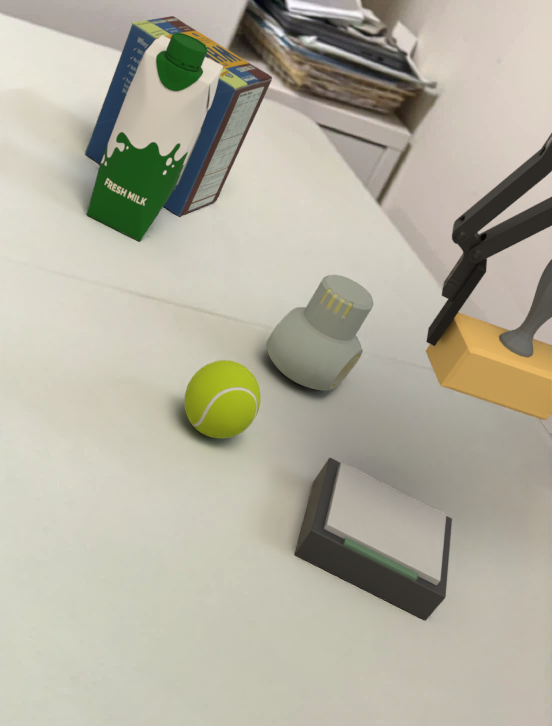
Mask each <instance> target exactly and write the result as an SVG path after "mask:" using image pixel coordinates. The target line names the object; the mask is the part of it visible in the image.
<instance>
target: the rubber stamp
mask: <svg viewBox="0 0 552 726" xmlns="http://www.w3.org/2000/svg"><path fill="white" fill-rule="evenodd" d="M535 289H536V290H535V293H534V296H533V299H532V303H531V306H530V309H529V310H528V313H527V316H526V317H525V319H524V321H523V322H522V323H521V325H520V326H518V327H517V328H515V329H511V330H509V329H508V328H504V327H502V326H498V325H496V324H493V323H490V322H487V321H484V320H481V319H478V318H476V317H473V316H470V315H467V314H464V313H462V312H460V311H459V312H458V313H457V315H456V316H455V318H454V319H453V321H452V322H451V323H450V325H449V326H448V328H447V329H446V331H445V332H444V334H443V335H442V336H441V338H440V339H439V341H438V342H437V344H436V345H435V346H433V345H431V344H428V346H427V347H426V349H425V353H426V355H427V358H428V360H429V363H430V365H431V367H432V370H433V373H434V375H435V377H436V379H437V382H438V384H439V387H443V388H445V389H448V390H452V391H455V392H457V393H460V394H462V395H463V394H464V395H467V396H470V397H473V398H476V399H479V400H481V401H484V402H488V403H490V404H493V405H495V406H496V405H497V406H499V407H503V408H506V409H509V410H511V411H514V412H518V413H520V414H523V415H525V416H529V417H532V418H535V419H539V420H543V421H548V419H549V418H550V417H551V416H552V344H549V343H547V342H543V341H541V340H539V339H536V338H534V337H535V334H536V333H537V332H538V331H539V329H540V328H541V327H542V326H543V325H544V324H546V323H547V321H549V320H550V319H551V318H552V258H551V259H550V260H549V262H548V263H547V265H546V266H545V268H544V270H543V271H542V273H541V276H540V278H539V281H538V283H537V286H536V288H535Z"/></svg>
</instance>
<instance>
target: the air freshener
mask: <svg viewBox="0 0 552 726" xmlns="http://www.w3.org/2000/svg"><path fill="white" fill-rule="evenodd" d="M374 305H375V304H374V300H373V296H372V295H371V293H370V292H369V291H368V289H366V288H365V287H364V286H363V285H361V283H359V282H356V281H355V280H353V279H351V278H349V277H346V276H344V275H341V274H328V275H326V276H324V277H323V278H322V279H321V281H320V282H319V285H318V286H317V288H316V290H315V291H314V293H313V294H312V296H311V298H310V300H309V301H308V303H307V304H306V306H297V307H295V308H293V309H291V310H289V312H288V313H287V314H286V315H284V316H283V318H281V320H280V321H279V322H278V323H277V325H276V326H275V327H274V329H273V330H272V332H271V333H270V335H269V336H268V338H267V340H266V343H265V346H266V347H265V348H266V351H267V353H268V356H269V358H270V360H271V361H272V363H273V364H274V366H275V367H276V368H277V369H278V370H279V371H280V372H281V373H282V375H284V376H285V377H286V378H287V379H289V380H290V381H292V382H294V383H296V384H298V385H300V386H302V387H305V388H307V389H312V390H317V391H332V390H334V389H335V388H337V387H338V386H339V385H340V384H341V383H342V382H343V381H344V379H345V378H347V376H348V375H349V374H350V372H351V371H352V370H353V368H355V366H356V365H357V363H358V362H359V360H360V359H361V357H362V355H363V352H364V351H363V347H362V345H361V341H360V340H359V338H358V336H357V333H358V332H359V330H360V329H361V327H362V325H363V324H364V323H365V321H366V319H367V317H368V316H369V314H370V312H371V310H373V307H374Z"/></svg>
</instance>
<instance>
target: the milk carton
mask: <svg viewBox="0 0 552 726" xmlns="http://www.w3.org/2000/svg"><path fill="white" fill-rule="evenodd" d="M207 51H208V49H207V47H206V46H205V45H204V44H203V43H202V42H200V41H199V40H197V39H195V38H193V37H191V36H189V35H186V34H183V33H173V35H172V37H171V39H169V38H167V37H165V36H163V35H162V36H160V38H159V39H156V40H155V41H154V42H153V43H152V45H151V46H150V47H149V48H148V49H147V50H146V51H145V53H144V55H143V57H142V58H141V61H140V63H139V66H138V69H137V72H136V74H135V76H134V78H133V80H132V83H131V85H130V87H129V90H128V92H127V95H126V97H125V100H124V102H123V105H122V108H121V110H120V113H119V116H118V118H117V121H116V124H115V126H114V129H113V132H112V134H111V137H110V139H109V142H108V145H107V147H106V150H105V153H104V156H103V158H102V161H101V164H99V167H98V169H97V170H98V171H97V174H96V177H95V181H94V184H93V189H92V192H91V196H90V200H89V204H88V208H87V212H86V216H88V217H90V218H93V219H94V220H96V221H98V222H100V223H102V224H103V225H106V226H108V227H110V228H113V229H114V230H116V231H119V232H120V233H122V234H124V235H126V236H128V237H130V238H132V239H134V240H135V241H138V242H141V241H142V239H143V238H144V236H145V235H146V233H147V232H148V230H149V229H150V227H151V226H152V224H153V223H154V221H155V220H156V218H157V217H158V215H159V214H160V213H161V211H162V209H163V208H164V204H165V203H166V201H167V200H168V198H169V197H170V195H171V194H172V192H173V190H174V188H175V186H176V184H177V182H178V180H179V177H180V175H181V173H182V170H183V168H184V166H185V163H186V161H187V159H188V157H189V154H190V152H191V150H192V147H193V145H194V143H195V141H196V138H197V136H198V134H199V131H200V129H201V127H202V124H203V122H204V119H205V117H206V114H207V111H208V110H209V109H210V107H211V105H212V102H213V99H214V95H215V92H216V88H217V84H218V79H219V77H220V74H221V71H222V69H223V66H222V65H220V64H218V63H216V62H215V61H213V60H211V59H209V58H207V57H205V56H206V54H207Z"/></svg>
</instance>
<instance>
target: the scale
mask: <svg viewBox="0 0 552 726" xmlns="http://www.w3.org/2000/svg"><path fill="white" fill-rule="evenodd" d="M311 486H312V487H311V489H310V494H309V498H308V502H307V506H306V510H305V513H304V518H303V521H302V525H301V528H300V532H299V536H298V540H297V544H296V547H295V553H294V555H295V556H296V557H298V558H300V559H301V560H304V561H306V562H308V563H310V564H312V565H314V566H316V567H318V568H320V569H322V570H324V571H325V572H328V573H330V574H332V575H334V576H336V577H338V578H339V579H342V580H343V581H346V582H348V583H350V584H352V585H354V586H356V587H358V588H360V589H361V590H364V591H366V592H367V593H370V594H371V595H374V596H375V597H377V598H380V599H382V600H384V601H386V602H387V603H390V604H391V605H393V606H396V607H397V608H400V609H402V610H404V611H405V612H408V613H410V614H411V615H414V616H416V617H418V618H420V619H421V620H423V621H427V620H428V619H429V617H431V615H432V614H433V613H434V612H435V611H436V609H437V608H438V607H439V606H440V605H441V604H442V603H443V601H444V600H445V599H446V598H447V585H448V576H449V575H448V574H449V561H450V551H451V536H452V525H453V518H452V517H450V516H447V514H446V513H444V512H442V511H440V510H438V509H436V508H434V507H432V506H430V505H428V504H427V503H424V502H422V501H420V500H418V499H416V498H414V497H412V496H410V495H408V494H406V493H405V492H402V491H401V490H398V489H396V488H395V487H393V486H391V485H388V484H386V483H385V482H382V481H380V480H378V479H377V478H375V477H373V476H370V474H369V475H368V474H367V473H365V472H363V471H361V470H359V469H357V468H354V467H353V466H351V465H349V464H347V463H345V462H342V461H339V460H336V459H334V458H332V457H328V458H327V460H326V462H325V464H324V465H323V466H322V468H321V469H320V471H319V473H318V474H317V475H316V477H315V478H314V479H313V482H312V485H311Z"/></svg>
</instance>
